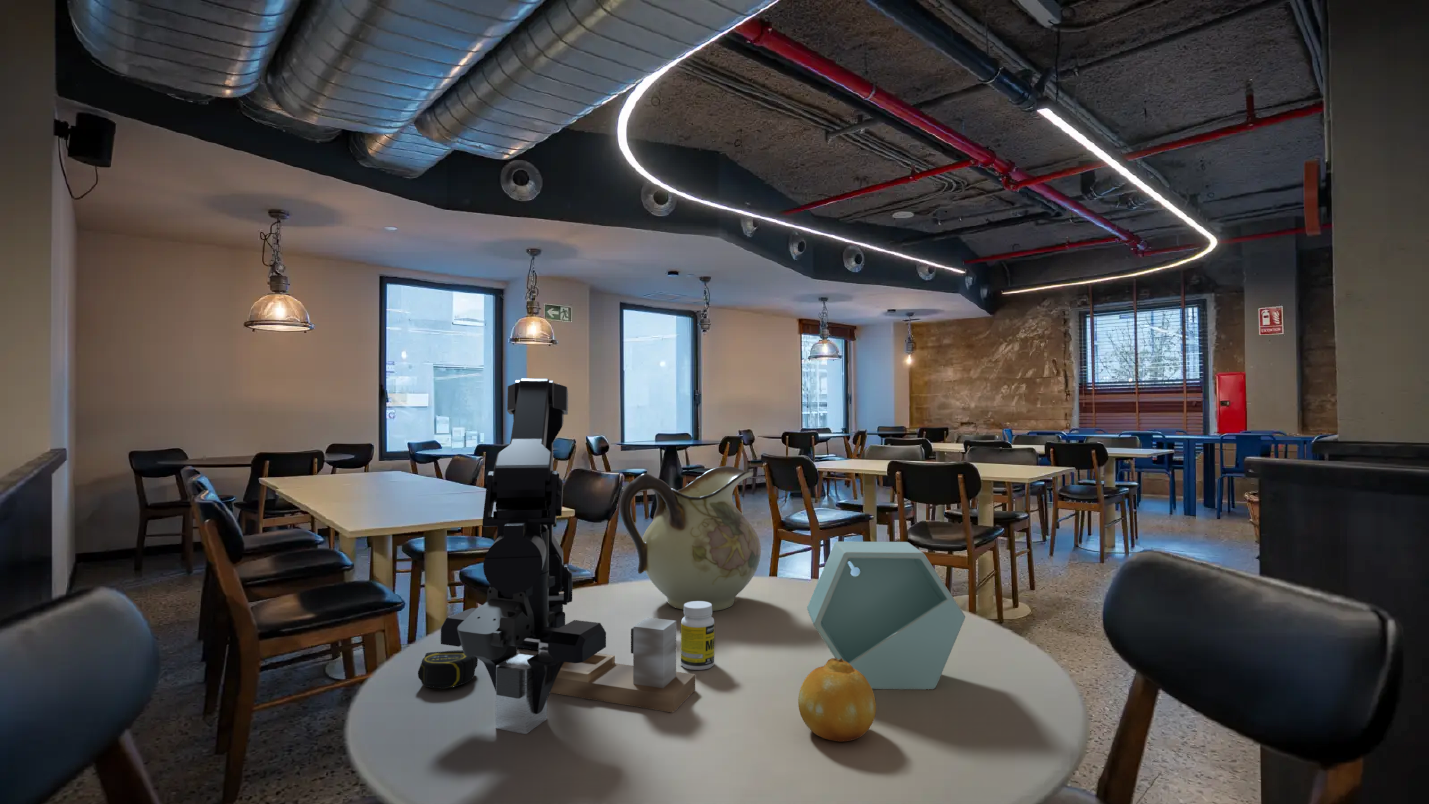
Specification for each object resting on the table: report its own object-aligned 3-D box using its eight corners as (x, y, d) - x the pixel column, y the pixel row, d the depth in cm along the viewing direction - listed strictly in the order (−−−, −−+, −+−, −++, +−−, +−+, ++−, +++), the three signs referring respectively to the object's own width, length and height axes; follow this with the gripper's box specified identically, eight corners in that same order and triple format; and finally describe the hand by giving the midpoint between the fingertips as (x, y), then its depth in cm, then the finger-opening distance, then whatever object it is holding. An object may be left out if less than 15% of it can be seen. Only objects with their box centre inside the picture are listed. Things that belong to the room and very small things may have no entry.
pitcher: (777, 595, 133) (777, 467, 133) (730, 629, 111) (730, 476, 112) (675, 583, 142) (675, 463, 143) (613, 613, 121) (614, 471, 121)
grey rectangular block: (492, 730, 76) (492, 667, 76) (517, 713, 80) (518, 653, 80) (522, 736, 74) (523, 671, 74) (546, 718, 78) (547, 657, 79)
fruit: (848, 688, 82) (825, 638, 79) (900, 719, 75) (877, 665, 72) (800, 737, 78) (775, 686, 75) (850, 774, 71) (824, 720, 69)
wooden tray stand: (529, 689, 87) (529, 618, 87) (559, 670, 94) (560, 604, 94) (673, 712, 80) (673, 635, 80) (695, 690, 87) (695, 619, 87)
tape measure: (478, 673, 93) (479, 645, 93) (470, 692, 86) (470, 663, 86) (425, 676, 92) (426, 648, 92) (412, 696, 85) (413, 666, 85)
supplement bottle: (710, 672, 93) (710, 610, 93) (677, 669, 94) (677, 608, 94) (717, 660, 98) (717, 600, 98) (685, 657, 99) (685, 599, 99)
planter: (878, 725, 87) (789, 588, 88) (866, 700, 95) (784, 574, 95) (990, 653, 87) (900, 516, 87) (968, 633, 95) (886, 508, 95)
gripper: (404, 580, 73) (402, 727, 73) (553, 596, 67) (552, 757, 67) (473, 560, 84) (472, 688, 83) (608, 572, 77) (608, 711, 77)
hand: (521, 709), depth 77 cm, fingers closed on grey rectangular block, 4 cm apart
